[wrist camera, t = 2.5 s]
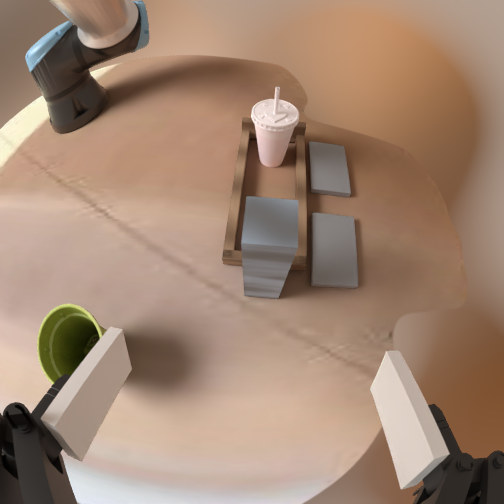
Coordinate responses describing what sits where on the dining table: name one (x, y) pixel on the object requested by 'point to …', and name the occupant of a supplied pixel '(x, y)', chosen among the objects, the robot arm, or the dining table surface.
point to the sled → (268, 225)
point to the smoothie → (274, 128)
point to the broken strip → (331, 220)
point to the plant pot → (66, 340)
